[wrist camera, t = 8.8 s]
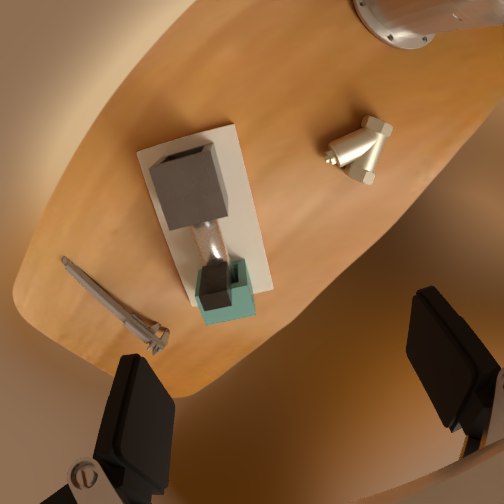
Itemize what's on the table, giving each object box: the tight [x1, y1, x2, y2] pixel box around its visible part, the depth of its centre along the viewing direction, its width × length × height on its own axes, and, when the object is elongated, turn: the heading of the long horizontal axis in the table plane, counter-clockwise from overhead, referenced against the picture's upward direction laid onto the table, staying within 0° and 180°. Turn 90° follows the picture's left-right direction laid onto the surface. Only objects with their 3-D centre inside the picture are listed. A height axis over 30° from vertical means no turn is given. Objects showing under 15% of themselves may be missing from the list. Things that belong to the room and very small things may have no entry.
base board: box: [136, 124, 274, 307], centre depth 40 cm, size 12×23×1 cm, turn 13°
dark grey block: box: [149, 142, 228, 231], centre depth 33 cm, size 6×7×6 cm
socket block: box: [195, 259, 256, 325], centre depth 40 cm, size 6×5×6 cm
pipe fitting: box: [323, 115, 393, 185], centre depth 35 cm, size 8×4×7 cm
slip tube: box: [189, 219, 237, 311], centre depth 35 cm, size 3×14×9 cm, turn 13°
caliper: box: [62, 256, 170, 356], centre depth 42 cm, size 20×1×6 cm, turn 47°
